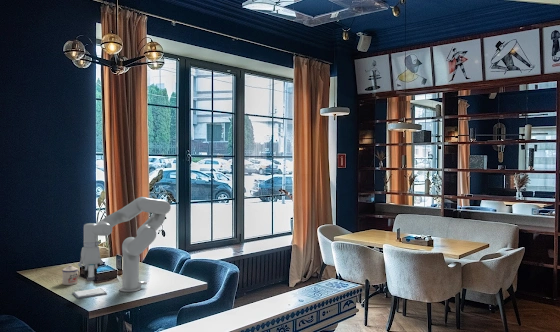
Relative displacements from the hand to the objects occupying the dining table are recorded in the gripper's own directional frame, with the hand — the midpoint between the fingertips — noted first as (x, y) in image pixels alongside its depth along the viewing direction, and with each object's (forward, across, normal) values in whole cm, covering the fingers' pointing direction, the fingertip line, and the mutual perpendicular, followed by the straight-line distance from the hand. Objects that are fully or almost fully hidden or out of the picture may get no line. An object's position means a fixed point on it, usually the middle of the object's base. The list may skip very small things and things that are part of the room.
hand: (90, 275), depth 271 cm
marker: (+2, 0, 0) cm, 2 cm away
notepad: (+11, 0, -1) cm, 11 cm away
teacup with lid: (+11, +3, -31) cm, 33 cm away
